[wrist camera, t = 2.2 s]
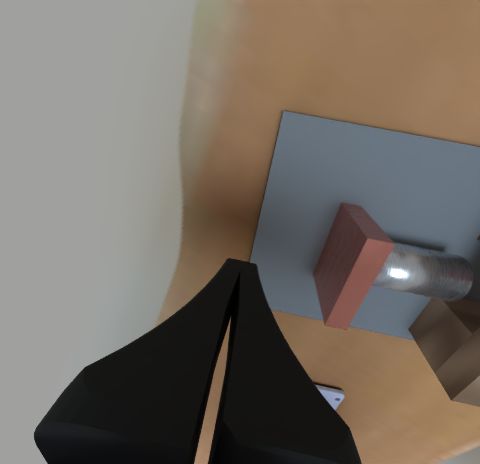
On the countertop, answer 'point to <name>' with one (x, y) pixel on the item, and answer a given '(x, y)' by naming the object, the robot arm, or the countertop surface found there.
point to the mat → (373, 202)
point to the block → (452, 345)
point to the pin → (379, 267)
